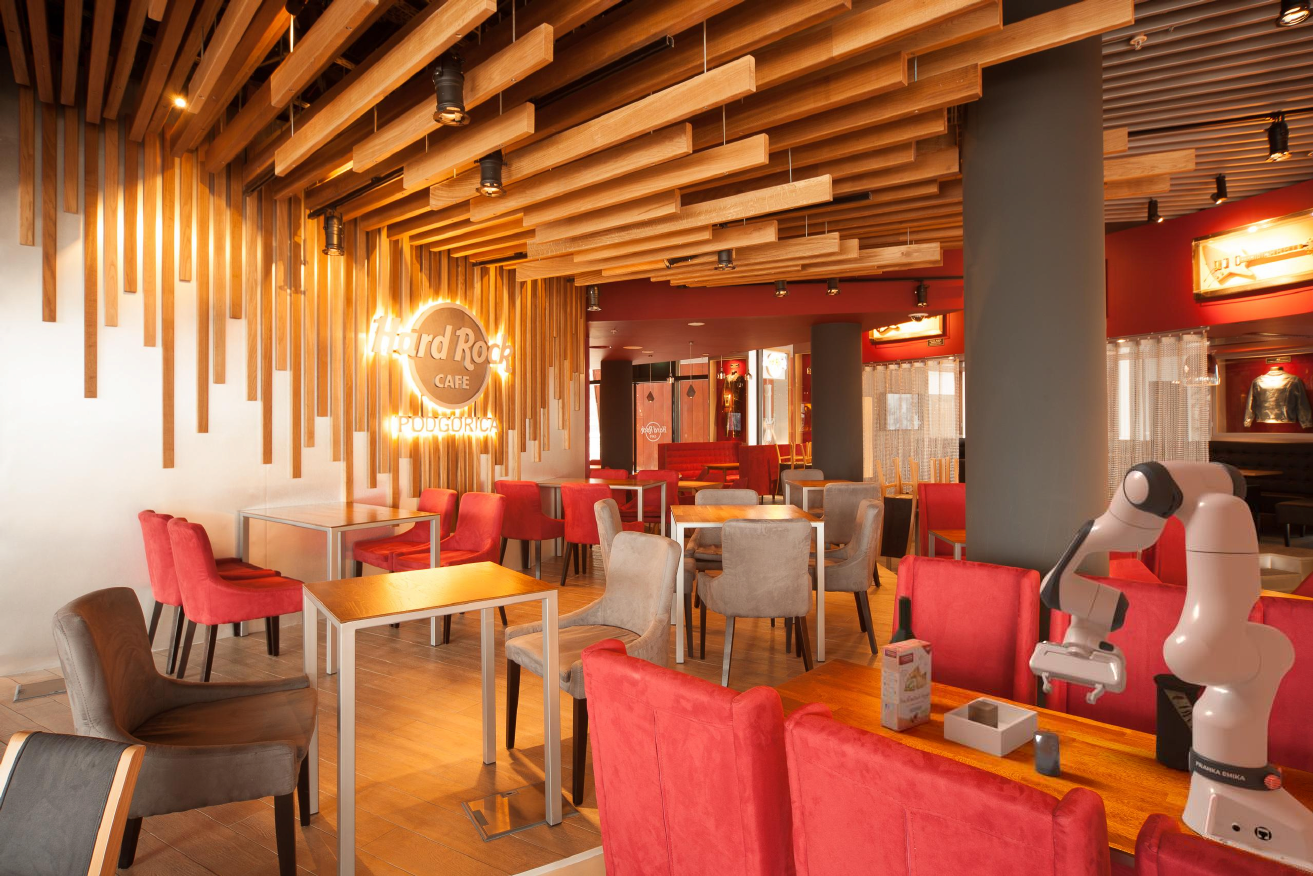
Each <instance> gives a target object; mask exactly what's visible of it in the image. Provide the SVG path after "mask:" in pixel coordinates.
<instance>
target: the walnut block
mask: <svg viewBox="0 0 1313 876" xmlns="http://www.w3.org/2000/svg"><path fill="white" fill-rule="evenodd" d="M973 701H974V700H973ZM971 702H972V701H971ZM969 703H970V702H969ZM968 720H970V721H974V722H977V723H980V724H983V725H986V726H990V727H993V728H996V729H998V706H997V705H994V704H990V703H987V702H983V701H980V700H977V701H974V702H972V703H970V704H968Z"/></svg>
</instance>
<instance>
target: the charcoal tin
mask: <svg viewBox="0 0 1313 876" xmlns="http://www.w3.org/2000/svg"><path fill="white" fill-rule="evenodd" d="M1033 749H1034V750H1033V751H1034V770H1035V771H1036V772H1037V773H1039V774H1042V775H1045V776H1051V777H1054V776H1055V777H1056V776H1060V775H1061V773H1062V771H1061V770H1062V769H1061V752H1060V750H1061V749H1060V736H1059V735H1058V734H1057V733H1055V732H1052V731H1048V730H1038V731H1035V732H1034V738H1033Z"/></svg>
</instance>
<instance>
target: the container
mask: <svg viewBox="0 0 1313 876" xmlns="http://www.w3.org/2000/svg"><path fill="white" fill-rule="evenodd" d="M1152 679H1153V682H1154V683H1155V685H1156V717H1155V718H1156V721H1155V722H1156V725H1155V727H1156V728H1155V729H1156V733H1155V758H1156V761H1157V762H1159V764H1161V765H1164V766H1165V767H1168V768H1171V769H1174V770H1179V771H1185V772H1190V770H1189V752H1190V747H1192V745H1193V707H1194V705H1195V703H1196V702H1197V701H1198V700H1199V693H1200V691H1201V690H1202V688H1203V687H1202V685H1198V684H1192V683H1188V682H1185V681H1183V680H1181V679H1180V678H1178V677H1177V676H1176V675H1174V674H1173V673H1157V674H1155V675H1153V678H1152Z"/></svg>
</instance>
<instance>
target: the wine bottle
mask: <svg viewBox="0 0 1313 876" xmlns="http://www.w3.org/2000/svg"><path fill="white" fill-rule="evenodd" d="M911 639H917V640H918V638H917V637H916V636H915V634H914V632H913V630H912V599H911V598H910V596H908V595H900V598H898V629H897V630H896V632H895V633H894V635H893V636H892V637H891V639H890V640H889V644H893V643H898V642H902V641H906V640H911ZM889 644H888V645H889Z"/></svg>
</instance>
